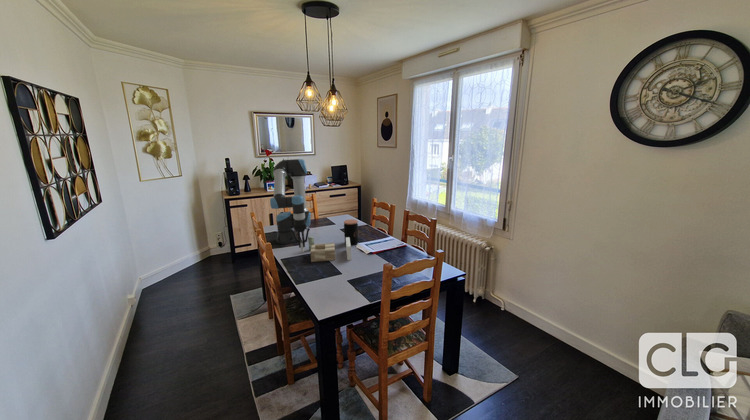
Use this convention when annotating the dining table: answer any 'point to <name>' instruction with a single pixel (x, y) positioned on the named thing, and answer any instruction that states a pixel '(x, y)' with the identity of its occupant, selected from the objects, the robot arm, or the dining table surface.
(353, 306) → the dining table surface
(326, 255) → the socket block
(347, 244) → the wall
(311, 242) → the dowel
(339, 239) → the dining table surface
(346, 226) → the coffee jar
